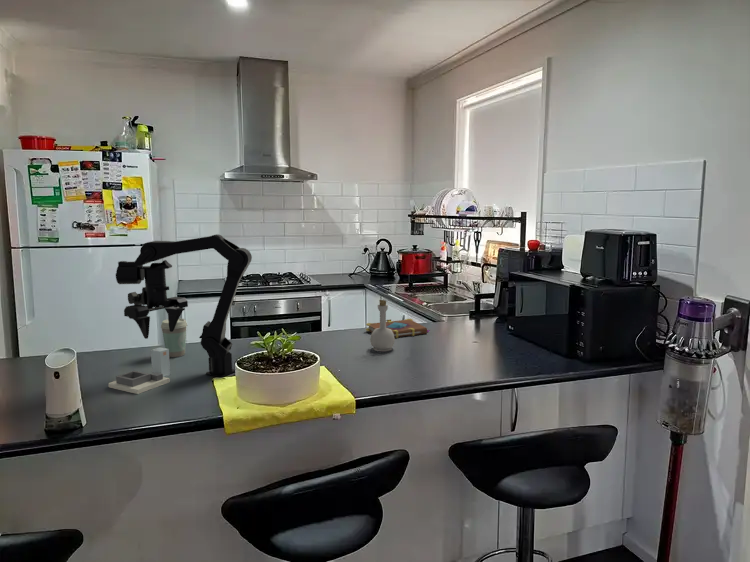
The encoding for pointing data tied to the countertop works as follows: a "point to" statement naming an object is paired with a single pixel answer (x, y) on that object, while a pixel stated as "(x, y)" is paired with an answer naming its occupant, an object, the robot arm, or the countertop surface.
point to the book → (401, 327)
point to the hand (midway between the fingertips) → (159, 334)
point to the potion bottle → (382, 332)
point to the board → (138, 381)
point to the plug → (160, 361)
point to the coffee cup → (175, 337)
